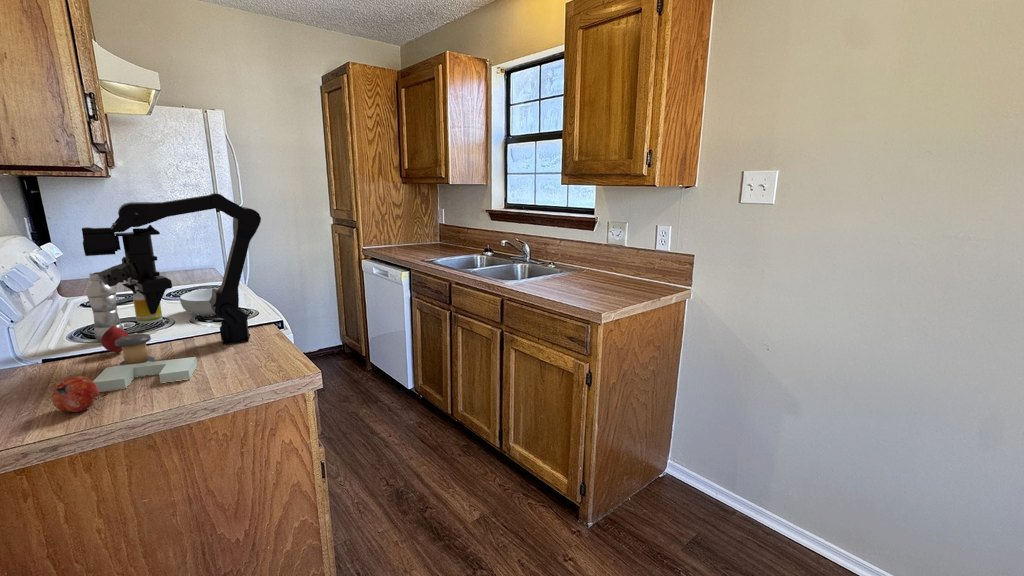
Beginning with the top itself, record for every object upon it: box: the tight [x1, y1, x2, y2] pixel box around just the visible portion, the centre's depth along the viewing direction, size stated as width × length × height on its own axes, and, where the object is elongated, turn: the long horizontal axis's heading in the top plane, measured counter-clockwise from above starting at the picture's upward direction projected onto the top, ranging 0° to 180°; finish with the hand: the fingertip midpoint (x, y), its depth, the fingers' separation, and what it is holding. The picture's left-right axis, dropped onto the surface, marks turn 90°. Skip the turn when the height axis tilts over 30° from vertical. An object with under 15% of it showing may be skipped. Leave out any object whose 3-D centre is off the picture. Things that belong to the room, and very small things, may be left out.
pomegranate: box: [51, 375, 100, 413], centre depth 96 cm, size 7×7×10 cm
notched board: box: [92, 356, 198, 393], centre depth 111 cm, size 18×9×2 cm, turn 114°
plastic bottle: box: [85, 271, 125, 343], centre depth 132 cm, size 6×7×20 cm
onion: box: [100, 325, 130, 354], centre depth 125 cm, size 6×6×8 cm
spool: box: [115, 333, 156, 366], centre depth 118 cm, size 7×7×7 cm
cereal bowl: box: [179, 287, 219, 317], centre depth 161 cm, size 17×17×7 cm
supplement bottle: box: [132, 285, 163, 325], centre depth 121 cm, size 5×5×10 cm
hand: (148, 311), depth 122 cm, fingers closed on supplement bottle, 5 cm apart
